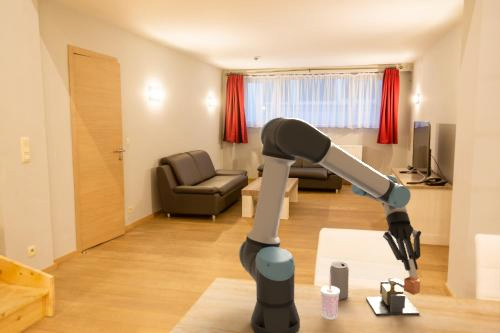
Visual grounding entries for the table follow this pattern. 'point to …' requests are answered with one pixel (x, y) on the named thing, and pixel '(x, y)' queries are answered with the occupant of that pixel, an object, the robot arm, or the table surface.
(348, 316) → the table surface
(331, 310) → the beverage cup
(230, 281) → the table surface
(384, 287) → the valve body
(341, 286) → the beverage can
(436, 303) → the table surface
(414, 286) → the valve lever
